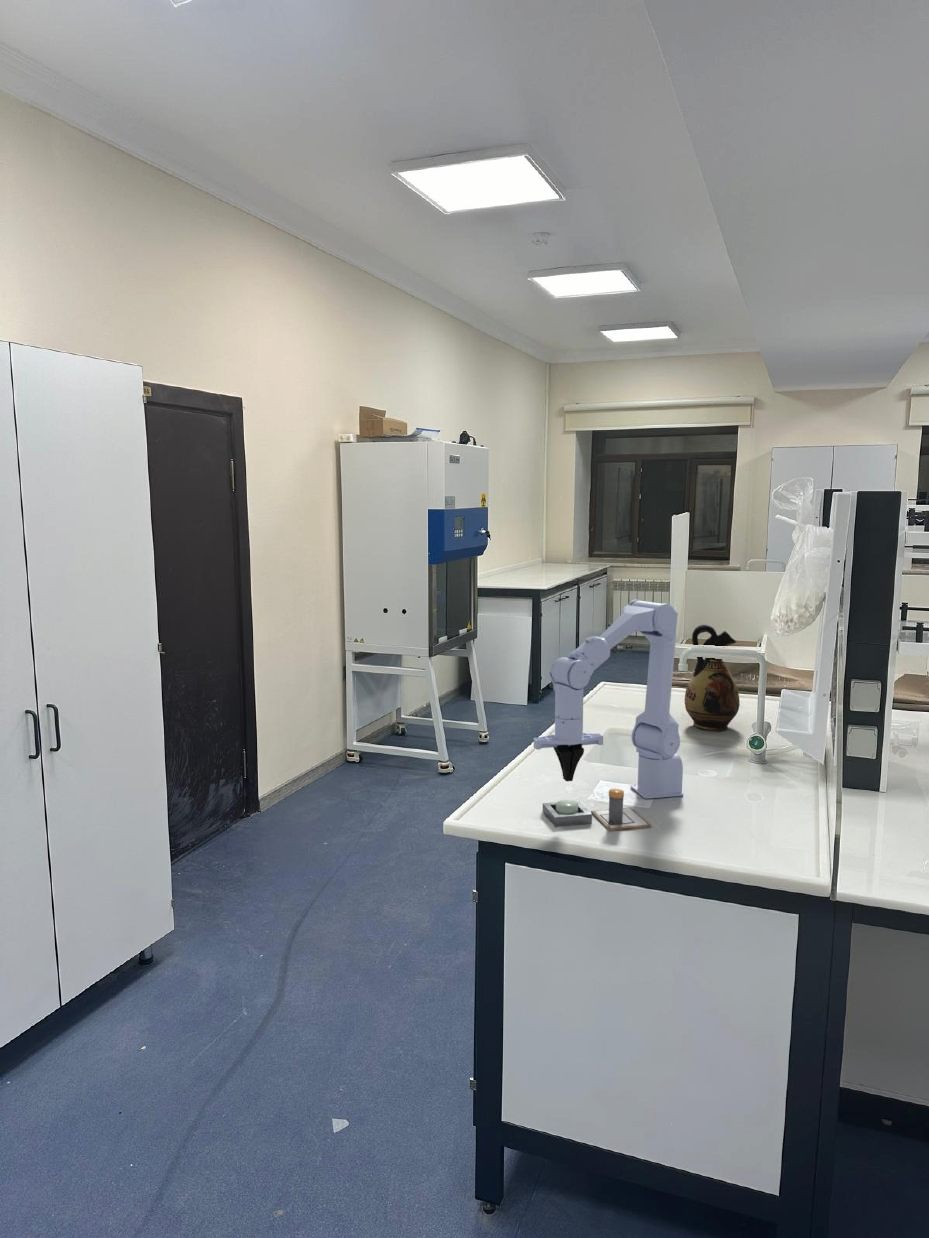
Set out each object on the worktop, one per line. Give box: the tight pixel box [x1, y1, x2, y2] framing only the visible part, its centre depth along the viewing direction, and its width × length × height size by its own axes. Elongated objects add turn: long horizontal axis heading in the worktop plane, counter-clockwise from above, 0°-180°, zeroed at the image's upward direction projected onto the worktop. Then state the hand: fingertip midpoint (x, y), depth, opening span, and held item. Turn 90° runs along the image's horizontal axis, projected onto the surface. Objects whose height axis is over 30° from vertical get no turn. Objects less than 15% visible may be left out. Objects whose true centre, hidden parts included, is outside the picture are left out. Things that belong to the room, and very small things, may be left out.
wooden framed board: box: [590, 807, 652, 832], centre depth 169 cm, size 9×10×1 cm
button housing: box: [542, 799, 593, 828], centre depth 170 cm, size 8×8×2 cm
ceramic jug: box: [684, 624, 741, 732], centre depth 237 cm, size 17×15×30 cm
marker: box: [608, 788, 625, 825], centre depth 166 cm, size 3×3×6 cm
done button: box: [556, 799, 578, 815], centre depth 170 cm, size 5×5×3 cm
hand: (567, 779), depth 169 cm, fingers closed
